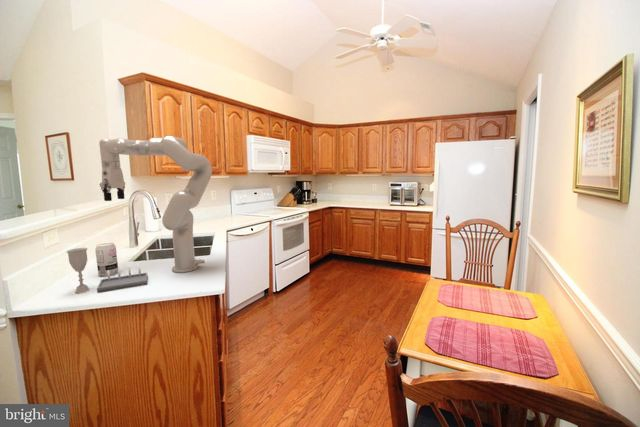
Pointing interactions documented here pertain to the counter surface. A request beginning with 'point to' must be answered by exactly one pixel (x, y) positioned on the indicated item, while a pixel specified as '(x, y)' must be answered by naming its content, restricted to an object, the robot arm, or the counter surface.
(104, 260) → the supplement can
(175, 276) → the counter surface
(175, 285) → the counter surface
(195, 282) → the counter surface
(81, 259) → the chalice
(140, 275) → the drying rack
